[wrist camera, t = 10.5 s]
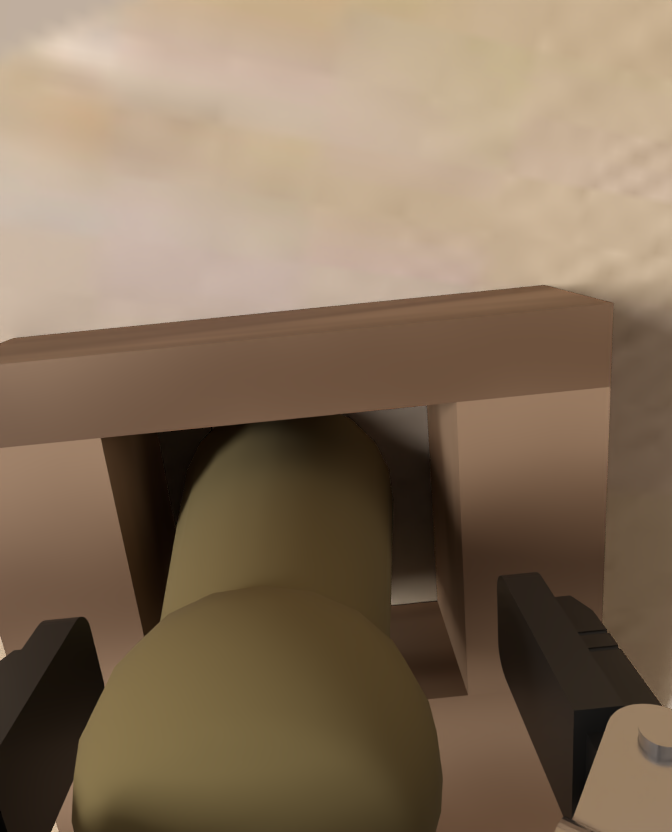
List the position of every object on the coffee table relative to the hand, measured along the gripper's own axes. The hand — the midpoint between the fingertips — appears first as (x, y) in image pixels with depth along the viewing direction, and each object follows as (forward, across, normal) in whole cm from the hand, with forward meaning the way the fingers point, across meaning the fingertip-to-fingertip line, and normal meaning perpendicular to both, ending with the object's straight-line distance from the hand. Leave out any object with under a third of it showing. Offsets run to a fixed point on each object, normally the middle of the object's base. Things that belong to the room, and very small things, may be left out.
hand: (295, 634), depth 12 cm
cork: (+6, 0, 0) cm, 6 cm away
